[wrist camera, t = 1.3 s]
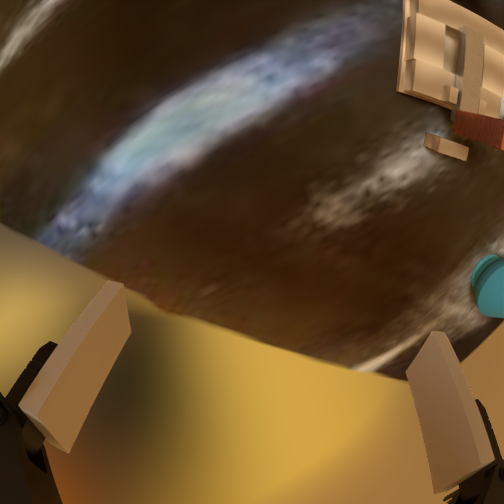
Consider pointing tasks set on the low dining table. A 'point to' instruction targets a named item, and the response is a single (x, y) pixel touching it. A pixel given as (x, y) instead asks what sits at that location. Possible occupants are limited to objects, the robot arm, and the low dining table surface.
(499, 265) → the perfume bottle
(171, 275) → the low dining table surface
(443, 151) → the dock
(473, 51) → the pin
